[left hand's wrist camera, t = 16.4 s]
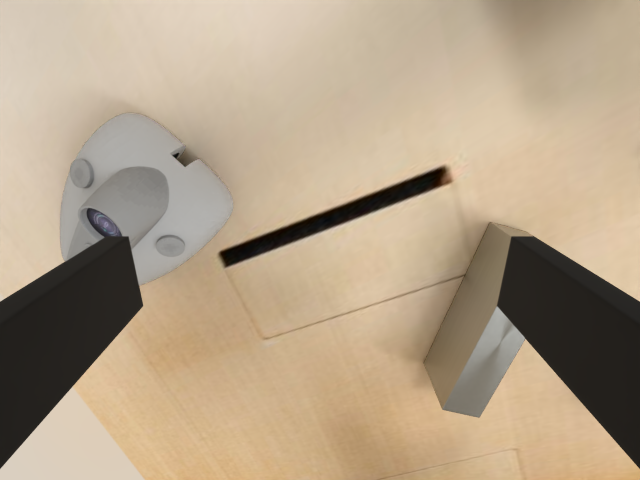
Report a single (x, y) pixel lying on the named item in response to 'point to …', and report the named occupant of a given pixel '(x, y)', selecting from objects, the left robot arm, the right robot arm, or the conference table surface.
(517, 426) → the conference table surface
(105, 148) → the projector
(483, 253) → the bar
